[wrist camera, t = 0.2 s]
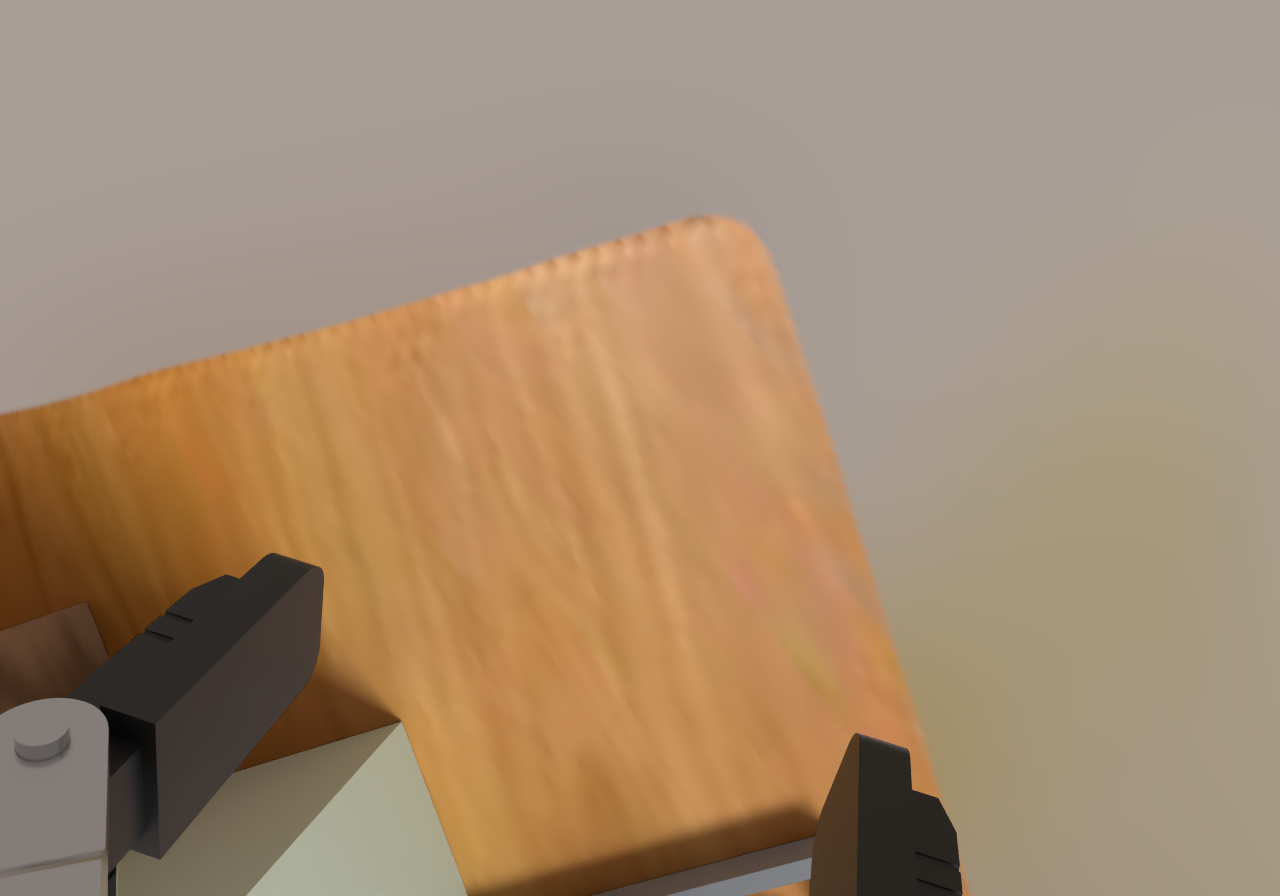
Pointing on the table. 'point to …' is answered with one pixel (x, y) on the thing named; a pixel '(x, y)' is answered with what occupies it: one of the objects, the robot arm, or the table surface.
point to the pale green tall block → (311, 830)
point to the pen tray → (732, 874)
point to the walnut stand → (49, 656)
